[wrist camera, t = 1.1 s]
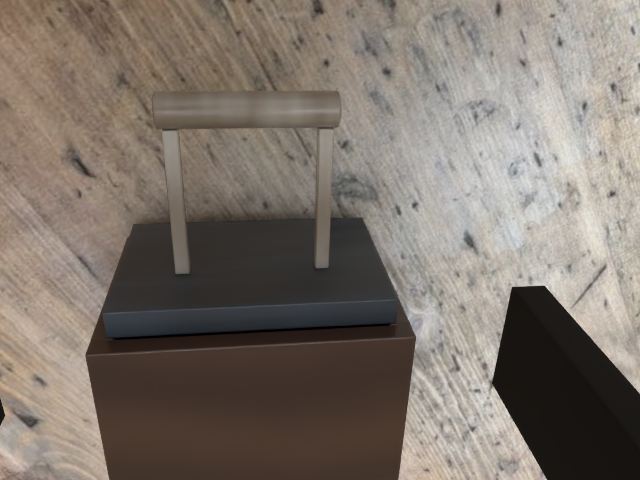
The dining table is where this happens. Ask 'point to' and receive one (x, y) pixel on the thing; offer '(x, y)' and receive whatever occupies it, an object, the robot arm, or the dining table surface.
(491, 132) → the dining table surface
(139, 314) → the drawer
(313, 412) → the cabinet
